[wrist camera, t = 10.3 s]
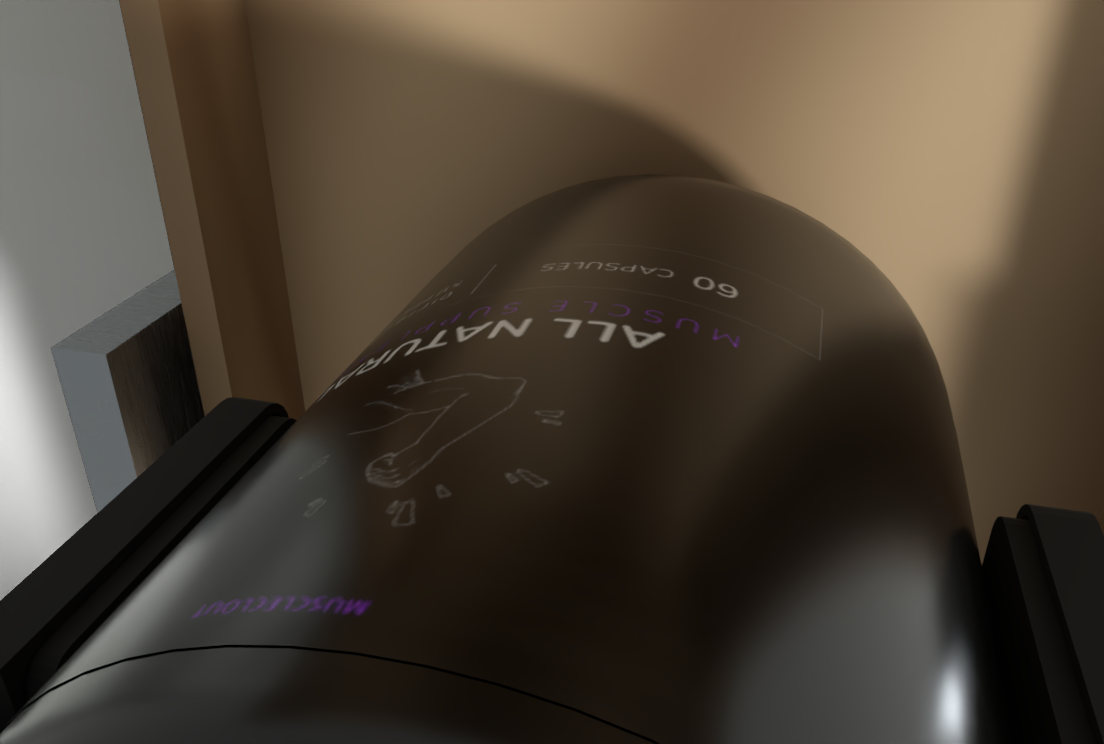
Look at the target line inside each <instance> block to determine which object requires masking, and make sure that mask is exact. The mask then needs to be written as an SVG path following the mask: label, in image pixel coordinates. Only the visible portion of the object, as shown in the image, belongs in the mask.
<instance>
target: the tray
mask: <svg viewBox="0 0 1104 744" xmlns="http://www.w3.org/2000/svg"><path fill="white" fill-rule="evenodd" d="M119 2H120V7H121V12H122V17H123V22H124V26H125V31H126V36H127V41H128V46H129V51H130V56H131V60H132V65H133V70H134V75H135V80H136V85H137V90H138V94H139V99H140V104H141V109H142V114H143V119H144V124H145V128H146V133H147V138H148V143H149V148H150V153H151V158H152V162H153V167H154V172H155V177H156V182H157V187H158V192H159V196H160V201H161V206H162V211H163V216H164V221H165V226H166V230H167V235H168V240H169V245H170V250H171V255H172V260H173V264H174V269H175V274H176V279H177V284H178V289H179V294H180V298H181V303H182V308H183V313H184V318H185V323H186V328H187V332H188V337H189V342H190V347H191V352H192V357H193V362H194V366H195V371H196V376H197V381H198V386H199V391H200V396H201V400H202V405H203V410H204V415H205V416H206V415H207V414H208V413H209V412H210V411H211V410H212V409H213V408H215V407H216V406H217V405H218V404H219V403H220V402H221V401H223V400H225V399H226V398H229V397H237V398H244V399H252V400H259V401H267V402H274V403H279V404H281V405H282V406H284V408H285V410H286V411H287V413H288V416H289V418H293V419H295V420H298V419H299V418H300V417H301V416H302V415H303V413H304V412H305V411H306V410H307V409H308V408H309V407H310V406H311V405H312V404H313V403H314V402H315V401H316V400H317V399H318V398H319V397H320V396H321V395H322V394H323V393H324V392H325V390H326V389H327V388H328V387H329V386H330V385H331V384H332V383H333V382H334V381H335V380H336V379H337V378H338V377H339V376H340V375H341V374H342V373H343V372H344V371H345V370H346V369H347V367H348V366H349V365H350V364H351V363H352V362H353V361H354V360H355V359H356V358H357V357H358V356H359V355H360V354H361V353H362V352H363V351H364V350H365V349H366V348H367V347H368V346H369V344H370V343H371V342H372V341H373V340H374V339H375V338H376V337H377V336H378V335H379V334H380V333H381V332H382V331H383V330H384V329H385V328H386V327H387V326H388V325H389V324H390V323H391V321H392V320H393V319H394V318H395V317H396V316H397V315H398V314H399V313H400V312H401V311H402V310H403V309H404V308H405V307H406V306H407V305H408V304H409V303H410V302H411V301H412V300H413V299H414V297H415V296H416V295H417V294H418V293H419V292H420V291H421V290H422V289H423V288H424V287H425V286H426V285H427V284H428V283H429V282H430V281H431V280H432V279H433V278H434V277H435V276H436V275H437V274H438V273H439V271H440V270H442V269H443V268H444V267H445V266H446V265H447V264H448V263H449V262H450V261H451V260H452V259H453V258H454V257H455V256H456V255H457V254H458V253H459V252H460V251H461V250H462V249H463V248H464V247H465V246H466V245H468V244H469V243H470V242H471V241H472V240H474V239H475V238H476V237H477V236H478V235H480V234H481V233H482V232H483V231H484V230H486V229H487V228H488V227H490V226H491V225H493V224H494V223H495V222H497V221H499V220H500V219H502V218H503V217H505V216H506V215H508V214H509V213H511V212H512V211H514V210H515V209H517V208H519V207H521V206H523V205H525V204H527V203H529V202H531V201H533V200H535V199H537V198H539V197H542V196H544V195H547V194H550V193H552V192H555V191H558V190H560V189H563V188H566V187H570V186H573V185H577V184H581V183H585V182H588V181H593V180H599V179H605V178H611V177H618V176H631V175H647V174H655V175H681V176H689V177H697V178H704V179H711V180H715V181H720V182H724V183H728V184H733V185H737V186H741V187H744V188H747V189H750V190H753V191H756V192H759V193H762V194H765V195H768V196H770V197H772V198H775V199H777V200H779V201H781V202H784V203H786V204H788V205H790V206H793V207H795V208H797V209H799V210H800V211H802V212H804V213H806V214H807V215H809V216H811V217H813V218H815V219H816V220H818V221H820V222H822V223H823V224H825V225H826V226H828V227H829V228H830V229H832V230H833V231H835V232H836V233H838V234H839V235H840V236H842V237H843V238H845V239H846V240H847V241H849V242H850V243H851V244H852V245H854V246H855V247H856V248H857V249H858V250H859V251H860V252H862V253H863V254H864V255H865V256H866V257H867V258H869V259H870V260H871V261H872V262H873V263H874V264H875V265H876V266H877V267H878V268H879V269H880V271H881V272H882V273H883V274H884V275H885V276H886V277H887V278H888V279H889V280H890V281H891V282H892V283H893V285H894V286H895V287H896V289H897V290H898V291H899V293H900V294H901V295H902V297H903V298H904V299H905V301H906V302H907V303H908V305H909V306H910V308H911V309H912V311H913V313H914V314H915V316H916V318H917V319H918V321H919V323H920V324H921V326H922V328H923V329H924V331H925V334H926V336H927V338H928V340H929V343H930V345H931V347H932V349H933V351H934V354H935V356H936V359H937V361H938V364H939V367H940V370H941V373H942V376H943V379H944V382H945V385H946V389H947V393H948V397H949V402H950V406H951V410H952V416H953V421H954V425H955V428H956V432H957V437H958V442H959V448H960V453H961V458H962V463H963V469H964V474H965V479H966V485H967V490H968V495H969V501H970V506H971V511H972V517H973V522H974V528H975V533H976V538H977V544H978V549H979V554H980V560H981V565H982V563H983V560H984V556H985V552H986V549H987V545H988V541H989V538H990V534H991V530H992V527H993V524H994V522H995V520H996V518H997V517H999V516H1003V517H1010V518H1016V516H1017V513H1018V511H1019V510H1020V508H1021V507H1022V506H1023V505H1025V504H1031V505H1038V506H1045V507H1053V508H1060V509H1068V510H1075V511H1082V512H1089V513H1091V514H1093V515H1094V516H1095V517H1096V519H1097V521H1098V522H1099V525H1100V527H1101V530H1102V532H1103V535H1104V0H119Z"/></svg>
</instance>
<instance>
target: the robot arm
mask: <svg viewBox="0 0 1104 744" xmlns="http://www.w3.org/2000/svg"><path fill="white" fill-rule="evenodd" d="M296 421H297V420H295V419H293V418H289V416H288V413H287V411H286V410H285V408H284V406H282V405H281V404H279V403H274V402H267V401H259V400H252V399H244V398H237V397H229V398H226V399H225V400H223V401H221V402H220V403H219V404H218V405H217V406H216V407H215V408H213V409H212V410H211V411H210V412H209V413H208V414H207V415H206V416H205V417H204V418H202V419H201V420H200V421H199V422H198V423H197V424H196V425H195V426H194V427H192V428H191V429H190V430H189V431H188V432H187V433H186V434H185V435H184V436H182V437H181V438H180V439H179V440H178V441H177V442H176V443H175V444H174V445H173V446H171V447H170V448H169V449H168V450H167V451H166V452H165V453H164V454H163V455H161V456H160V457H159V458H158V459H157V460H156V461H155V462H154V463H153V464H151V465H150V466H149V467H148V468H147V469H146V470H145V471H144V472H143V473H142V474H140V475H139V476H138V477H137V478H136V479H135V480H134V481H133V482H132V483H130V484H129V485H128V486H127V487H126V488H125V489H124V490H123V491H122V492H120V493H119V494H118V495H117V496H116V497H115V498H114V499H113V500H112V501H111V502H109V503H108V504H107V505H106V506H105V507H104V508H103V509H102V510H101V511H99V512H98V513H97V514H96V515H95V516H94V517H93V518H92V519H91V520H89V521H88V522H87V523H86V524H85V525H84V526H83V527H82V528H81V529H79V530H78V531H77V532H76V533H75V534H74V535H73V536H72V537H71V538H70V539H68V540H67V541H66V542H65V543H64V544H63V545H62V546H61V547H60V548H58V549H57V550H56V551H55V552H54V553H53V554H52V555H51V556H50V557H48V558H47V559H46V560H45V561H44V562H43V563H42V564H41V565H40V566H39V567H37V568H36V569H35V570H34V571H33V572H32V573H31V574H30V575H29V576H27V577H26V578H25V579H24V580H23V581H22V582H21V583H20V584H19V585H17V586H16V587H15V588H14V589H13V590H12V591H11V592H10V593H9V594H8V595H6V596H5V597H4V598H3V599H2V600H1V601H0V731H1V730H2V729H3V728H4V727H5V726H6V725H7V724H8V723H9V721H10V720H11V719H12V718H13V717H14V716H15V715H16V714H17V713H18V712H19V711H20V710H21V709H22V708H23V706H24V705H25V704H26V703H27V702H28V701H29V700H30V699H31V698H32V697H33V696H34V695H35V694H36V693H37V692H38V691H39V690H40V689H41V688H42V686H43V685H44V684H45V683H46V682H47V681H48V680H49V679H50V678H51V677H52V676H53V675H54V674H55V673H56V672H57V671H58V670H59V669H60V668H61V667H62V666H63V664H64V663H65V662H66V661H67V660H68V659H69V658H70V657H71V656H72V655H73V654H74V653H75V652H76V651H77V650H78V649H79V648H80V647H81V646H82V645H83V644H84V642H85V641H86V640H87V639H88V638H89V637H90V636H91V635H92V634H93V633H94V632H95V631H96V630H97V629H98V628H99V627H100V626H101V625H102V624H103V623H104V622H105V620H106V619H107V618H108V617H109V616H110V615H111V614H112V613H113V612H114V611H115V610H116V609H117V608H118V607H119V606H120V605H121V604H122V603H123V602H124V601H125V600H126V599H127V597H128V596H129V595H130V594H131V593H132V592H133V591H134V590H135V589H136V588H137V587H138V586H139V585H140V584H141V583H142V582H143V581H144V580H145V579H146V578H147V577H148V576H149V574H150V573H151V572H152V571H153V570H154V569H155V568H156V567H157V566H158V565H159V564H160V563H161V562H162V561H163V560H164V559H165V558H166V557H167V556H168V555H169V554H170V553H171V551H172V550H173V549H174V548H175V547H176V546H177V545H178V544H179V543H180V542H181V541H182V540H183V539H184V538H185V537H186V536H187V535H188V534H189V533H190V532H191V531H192V530H193V528H194V527H195V526H196V525H197V524H198V523H199V522H200V521H201V520H202V519H203V518H204V517H205V516H206V515H207V514H208V513H209V512H210V511H211V510H212V509H213V508H214V507H215V505H216V504H217V503H218V502H219V501H220V500H221V499H222V498H223V497H224V496H225V495H226V494H227V493H228V492H229V491H230V490H231V489H232V488H233V487H234V486H235V485H236V484H237V482H238V481H239V480H240V479H241V478H242V477H243V476H244V475H245V474H246V473H247V472H248V471H249V470H250V469H251V468H252V467H253V466H254V465H255V464H256V463H257V462H258V461H259V459H260V458H261V457H262V456H263V455H264V454H265V453H266V452H267V451H268V450H269V449H270V448H271V447H272V446H273V445H274V444H275V443H276V442H277V441H278V440H279V439H280V438H281V436H282V435H283V434H284V433H285V432H286V431H287V430H288V429H289V428H290V427H291V426H292V425H293V424H294V423H295V422H296ZM982 570H983V576H984V581H985V586H986V592H987V597H988V602H989V608H990V613H991V619H992V624H993V629H994V635H995V640H996V645H997V651H998V656H999V661H1000V667H1001V672H1002V677H1003V683H1004V688H1005V693H1006V699H1007V704H1008V709H1009V715H1010V720H1011V726H1012V731H1013V736H1014V742H1015V744H1104V535H1103V532H1102V530H1101V527H1100V525H1099V522H1098V521H1097V519H1096V517H1095V516H1094V515H1093V514H1091V513H1089V512H1082V511H1075V510H1068V509H1060V508H1053V507H1045V506H1038V505H1031V504H1025V505H1023V506H1022V507H1021V508H1020V510H1019V511H1018V513H1017V516H1016V518H1010V517H1003V516H999V517H997V518H996V520H995V522H994V524H993V527H992V530H991V534H990V538H989V541H988V545H987V549H986V552H985V556H984V560H983V563H982Z"/></svg>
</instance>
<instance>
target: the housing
mask: <svg viewBox="0 0 1104 744" xmlns="http://www.w3.org/2000/svg"><path fill="white" fill-rule="evenodd" d="M51 350H52V354H53V357H54V361H55V364H56V368H57V371H58V375H59V378H60V382H61V385H62V389H63V393H64V396H65V400H66V403H67V407H68V410H69V414H70V417H71V421H72V424H73V428H74V431H75V435H76V438H77V442H78V445H79V449H80V452H81V456H82V459H83V463H84V466H85V470H86V473H87V477H88V480H89V484H90V488H91V491H92V495H93V498H94V502H95V505H96V509H97V512H99V511H101V510H102V509H103V508H104V507H105V506H106V505H107V504H108V503H109V502H111V501H112V500H113V499H114V498H115V497H116V496H117V495H118V494H119V493H120V492H122V491H123V490H124V489H125V488H126V487H127V486H128V485H129V484H130V483H132V482H133V481H134V480H135V479H136V478H137V477H138V476H139V475H140V474H142V473H143V472H144V471H145V470H146V469H147V468H148V467H149V466H150V465H151V464H153V463H154V462H155V461H156V460H157V459H158V458H159V457H160V456H161V455H163V454H164V453H165V452H166V451H167V450H168V449H169V448H170V447H171V446H173V445H174V444H175V443H176V442H177V441H178V440H179V439H180V438H181V437H182V436H184V435H185V434H186V433H187V432H188V431H189V430H190V429H191V428H192V427H194V426H195V425H196V424H197V423H198V422H199V421H200V420H201V419H202V418H204V417H205V415H204V410H203V405H202V400H201V396H200V391H199V386H198V381H197V376H196V371H195V366H194V362H193V357H192V352H191V347H190V342H189V337H188V332H187V328H186V323H185V318H184V313H183V308H182V303H181V298H180V294H179V289H178V284H177V279H176V274H175V270H173V271H171V272H170V273H168V274H167V275H165V276H164V277H162V278H160V279H159V280H157V281H156V282H154V283H152V284H151V285H149V286H148V287H146V288H145V289H143V290H141V291H140V292H138V293H137V294H135V295H134V296H132V297H130V298H129V299H127V300H126V301H124V302H122V303H121V304H119V305H118V306H116V307H115V308H113V309H111V310H110V311H108V312H107V313H105V314H103V315H102V316H100V317H99V318H97V319H96V320H94V321H92V322H91V323H89V324H88V325H86V326H84V327H83V328H81V329H80V330H78V331H77V332H75V333H73V334H72V335H70V336H69V337H67V338H65V339H64V340H62V341H61V342H59V343H58V344H56V345H54V346H53V347H51Z"/></svg>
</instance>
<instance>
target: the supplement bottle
mask: <svg viewBox="0 0 1104 744" xmlns="http://www.w3.org/2000/svg"><path fill="white" fill-rule="evenodd" d="M0 744H1015V742H1014V736H1013V731H1012V726H1011V720H1010V715H1009V709H1008V704H1007V699H1006V693H1005V688H1004V683H1003V677H1002V672H1001V667H1000V661H999V656H998V651H997V645H996V640H995V635H994V629H993V624H992V619H991V613H990V608H989V602H988V597H987V592H986V586H985V581H984V576H983V570H982V565H981V560H980V554H979V549H978V544H977V538H976V533H975V528H974V522H973V517H972V511H971V506H970V501H969V495H968V490H967V485H966V479H965V474H964V469H963V463H962V458H961V453H960V448H959V442H958V437H957V432H956V428H955V425H954V421H953V416H952V410H951V406H950V402H949V397H948V393H947V389H946V385H945V382H944V379H943V376H942V373H941V370H940V367H939V364H938V361H937V359H936V356H935V354H934V351H933V349H932V347H931V345H930V343H929V340H928V338H927V336H926V334H925V331H924V329H923V328H922V326H921V324H920V323H919V321H918V319H917V318H916V316H915V314H914V313H913V311H912V309H911V308H910V306H909V305H908V303H907V302H906V301H905V299H904V298H903V297H902V295H901V294H900V293H899V291H898V290H897V289H896V287H895V286H894V285H893V283H892V282H891V281H890V280H889V279H888V278H887V277H886V276H885V275H884V274H883V273H882V272H881V271H880V269H879V268H878V267H877V266H876V265H875V264H874V263H873V262H872V261H871V260H870V259H869V258H867V257H866V256H865V255H864V254H863V253H862V252H860V251H859V250H858V249H857V248H856V247H855V246H854V245H852V244H851V243H850V242H849V241H847V240H846V239H845V238H843V237H842V236H840V235H839V234H838V233H836V232H835V231H833V230H832V229H830V228H829V227H828V226H826V225H825V224H823V223H822V222H820V221H818V220H816V219H815V218H813V217H811V216H809V215H807V214H806V213H804V212H802V211H800V210H799V209H797V208H795V207H793V206H790V205H788V204H786V203H784V202H781V201H779V200H777V199H775V198H772V197H770V196H768V195H765V194H762V193H759V192H756V191H753V190H750V189H747V188H744V187H741V186H737V185H733V184H728V183H724V182H720V181H715V180H711V179H704V178H697V177H689V176H681V175H655V174H647V175H631V176H618V177H611V178H605V179H599V180H593V181H588V182H585V183H581V184H577V185H573V186H570V187H566V188H563V189H560V190H558V191H555V192H552V193H550V194H547V195H544V196H542V197H539V198H537V199H535V200H533V201H531V202H529V203H527V204H525V205H523V206H521V207H519V208H517V209H515V210H514V211H512V212H511V213H509V214H508V215H506V216H505V217H503V218H502V219H500V220H499V221H497V222H495V223H494V224H493V225H491V226H490V227H488V228H487V229H486V230H484V231H483V232H482V233H481V234H480V235H478V236H477V237H476V238H475V239H474V240H472V241H471V242H470V243H469V244H468V245H466V246H465V247H464V248H463V249H462V250H461V251H460V252H459V253H458V254H457V255H456V256H455V257H454V258H453V259H452V260H451V261H450V262H449V263H448V264H447V265H446V266H445V267H444V268H443V269H442V270H440V271H439V273H438V274H437V275H436V276H435V277H434V278H433V279H432V280H431V281H430V282H429V283H428V284H427V285H426V286H425V287H424V288H423V289H422V290H421V291H420V292H419V293H418V294H417V295H416V296H415V297H414V299H413V300H412V301H411V302H410V303H409V304H408V305H407V306H406V307H405V308H404V309H403V310H402V311H401V312H400V313H399V314H398V315H397V316H396V317H395V318H394V319H393V320H392V321H391V323H390V324H389V325H388V326H387V327H386V328H385V329H384V330H383V331H382V332H381V333H380V334H379V335H378V336H377V337H376V338H375V339H374V340H373V341H372V342H371V343H370V344H369V346H368V347H367V348H366V349H365V350H364V351H363V352H362V353H361V354H360V355H359V356H358V357H357V358H356V359H355V360H354V361H353V362H352V363H351V364H350V365H349V366H348V367H347V369H346V370H345V371H344V372H343V373H342V374H341V375H340V376H339V377H338V378H337V379H336V380H335V381H334V382H333V383H332V384H331V385H330V386H329V387H328V388H327V389H326V390H325V392H324V393H323V394H322V395H321V396H320V397H319V398H318V399H317V400H316V401H315V402H314V403H313V404H312V405H311V406H310V407H309V408H308V409H307V410H306V411H305V412H304V413H303V415H302V416H301V417H300V418H299V419H298V420H297V421H296V422H295V423H294V424H293V425H292V426H291V427H290V428H289V429H288V430H287V431H286V432H285V433H284V434H283V435H282V436H281V438H280V439H279V440H278V441H277V442H276V443H275V444H274V445H273V446H272V447H271V448H270V449H269V450H268V451H267V452H266V453H265V454H264V455H263V456H262V457H261V458H260V459H259V461H258V462H257V463H256V464H255V465H254V466H253V467H252V468H251V469H250V470H249V471H248V472H247V473H246V474H245V475H244V476H243V477H242V478H241V479H240V480H239V481H238V482H237V484H236V485H235V486H234V487H233V488H232V489H231V490H230V491H229V492H228V493H227V494H226V495H225V496H224V497H223V498H222V499H221V500H220V501H219V502H218V503H217V504H216V505H215V507H214V508H213V509H212V510H211V511H210V512H209V513H208V514H207V515H206V516H205V517H204V518H203V519H202V520H201V521H200V522H199V523H198V524H197V525H196V526H195V527H194V528H193V530H192V531H191V532H190V533H189V534H188V535H187V536H186V537H185V538H184V539H183V540H182V541H181V542H180V543H179V544H178V545H177V546H176V547H175V548H174V549H173V550H172V551H171V553H170V554H169V555H168V556H167V557H166V558H165V559H164V560H163V561H162V562H161V563H160V564H159V565H158V566H157V567H156V568H155V569H154V570H153V571H152V572H151V573H150V574H149V576H148V577H147V578H146V579H145V580H144V581H143V582H142V583H141V584H140V585H139V586H138V587H137V588H136V589H135V590H134V591H133V592H132V593H131V594H130V595H129V596H128V597H127V599H126V600H125V601H124V602H123V603H122V604H121V605H120V606H119V607H118V608H117V609H116V610H115V611H114V612H113V613H112V614H111V615H110V616H109V617H108V618H107V619H106V620H105V622H104V623H103V624H102V625H101V626H100V627H99V628H98V629H97V630H96V631H95V632H94V633H93V634H92V635H91V636H90V637H89V638H88V639H87V640H86V641H85V642H84V644H83V645H82V646H81V647H80V648H79V649H78V650H77V651H76V652H75V653H74V654H73V655H72V656H71V657H70V658H69V659H68V660H67V661H66V662H65V663H64V664H63V666H62V667H61V668H60V669H59V670H58V671H57V672H56V673H55V674H54V675H53V676H52V677H51V678H50V679H49V680H48V681H47V682H46V683H45V684H44V685H43V686H42V688H41V689H40V690H39V691H38V692H37V693H36V694H35V695H34V696H33V697H32V698H31V699H30V700H29V701H28V702H27V703H26V704H25V705H24V706H23V708H22V709H21V710H20V711H19V712H18V713H17V714H16V715H15V716H14V717H13V718H12V719H11V720H10V721H9V723H8V724H7V725H6V726H5V727H4V728H3V729H2V730H1V731H0Z"/></svg>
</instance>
